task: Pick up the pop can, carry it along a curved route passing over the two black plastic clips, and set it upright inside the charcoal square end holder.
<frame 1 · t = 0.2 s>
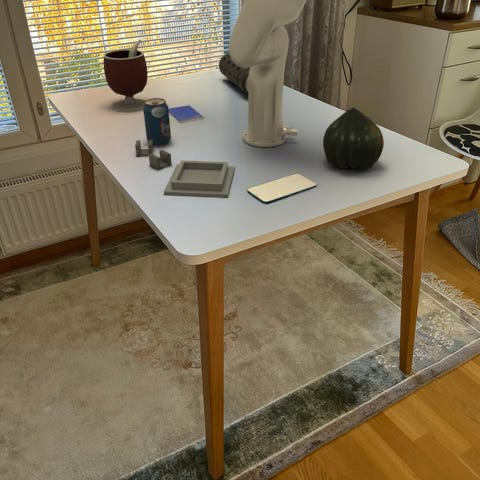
soda can: (159, 143, 139), on the table
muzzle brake: (242, 89, 181), on the table
clip 1: (145, 153, 132), on the table
hard drive: (185, 117, 158), on the table
clip 2: (160, 165, 126), on the table
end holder: (201, 181, 119), on the table
squash: (348, 165, 126), on the table
smartphone: (282, 190, 116), on the table
mate gourd: (132, 106, 166), on the table
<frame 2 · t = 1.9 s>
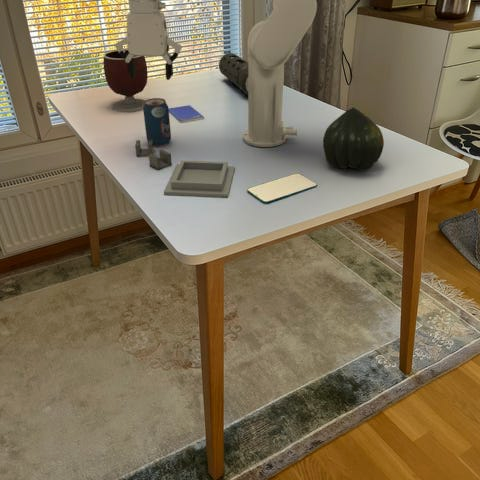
hand: (151, 77, 129), 18 cm above the table, tool pointing down, fingers open, 9 cm apart
nothing on the table moved.
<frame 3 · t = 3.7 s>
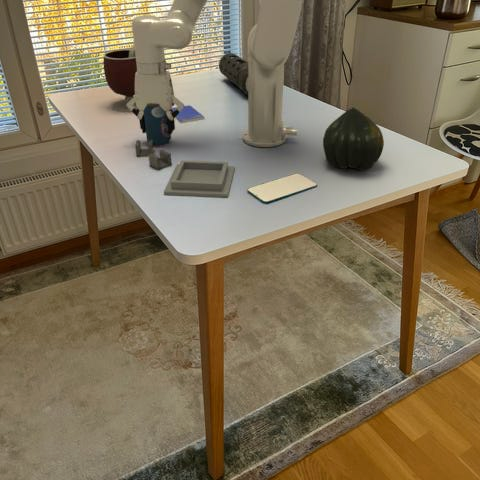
hand: (158, 131, 137), 3 cm above the table, tool pointing down, fingers closed on soda can, 6 cm apart
soda can: (159, 143, 139), on the table, touching gripper
everything else where it was.
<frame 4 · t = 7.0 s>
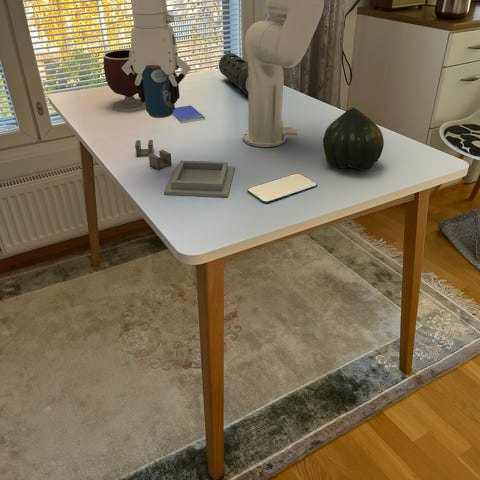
hand: (159, 100, 116), 17 cm above the table, tool pointing down, fingers closed on soda can, 6 cm apart
soda can: (161, 114, 118), point 14 cm above the table, touching gripper
everything else where it was.
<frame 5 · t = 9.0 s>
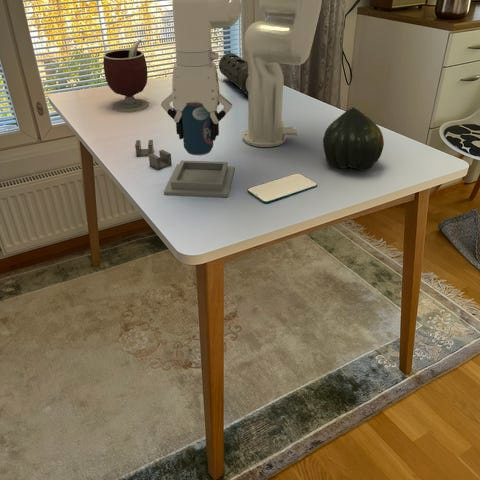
hand: (198, 137, 112), 12 cm above the table, tool pointing down, fingers closed on soda can, 6 cm apart
soda can: (198, 151, 114), point 8 cm above the table, touching gripper
everything else where it was.
when the fingers open (5 cm above the table, at t = 10.6 s): soda can drops 1 cm, resting on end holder.
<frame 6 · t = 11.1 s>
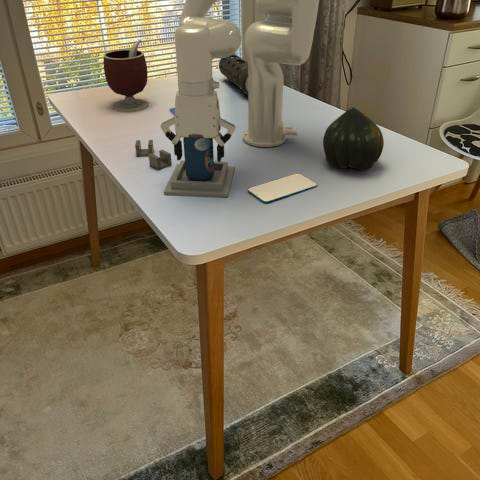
hand: (199, 158, 115), 6 cm above the table, tool pointing down, fingers open, 9 cm apart
soda can: (200, 178, 118), point 1 cm above the table, touching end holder
everything else where it was.
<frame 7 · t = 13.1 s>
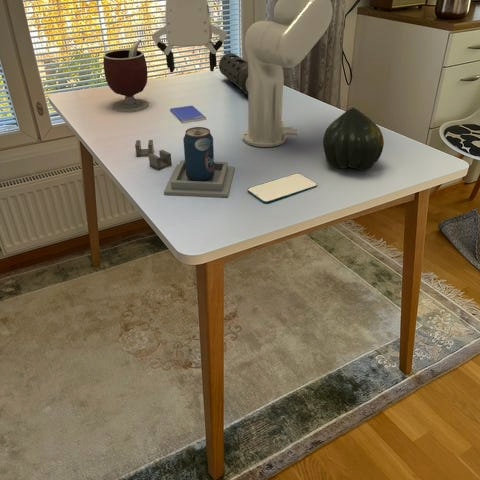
hand: (192, 70, 116), 23 cm above the table, tool pointing down, fingers open, 9 cm apart
nothing on the table moved.
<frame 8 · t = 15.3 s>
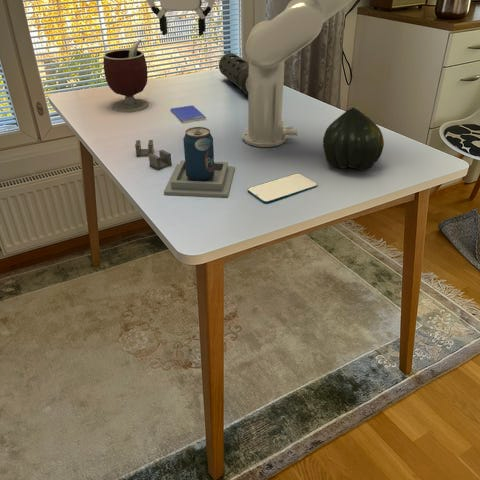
hand: (183, 34, 126), 28 cm above the table, tool pointing down, fingers open, 9 cm apart
nothing on the table moved.
at the end: soda can 0.2 cm off-centre on the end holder, point 0.6 cm above the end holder's base; soda can tilted 0°; the gripper is holding nothing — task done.
